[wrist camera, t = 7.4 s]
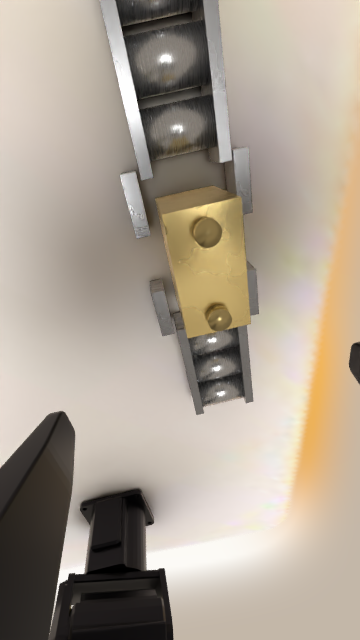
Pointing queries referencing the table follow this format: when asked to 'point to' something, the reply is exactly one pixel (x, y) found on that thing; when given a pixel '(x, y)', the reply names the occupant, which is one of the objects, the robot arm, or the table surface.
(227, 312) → the link
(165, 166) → the table surface
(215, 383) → the chain end
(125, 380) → the table surface
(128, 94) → the chain end
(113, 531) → the robot arm
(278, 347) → the table surface
